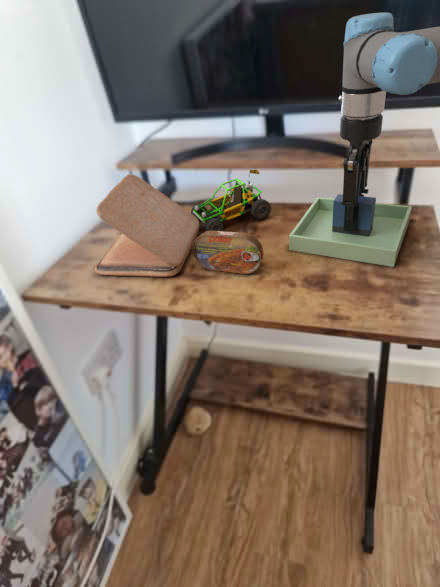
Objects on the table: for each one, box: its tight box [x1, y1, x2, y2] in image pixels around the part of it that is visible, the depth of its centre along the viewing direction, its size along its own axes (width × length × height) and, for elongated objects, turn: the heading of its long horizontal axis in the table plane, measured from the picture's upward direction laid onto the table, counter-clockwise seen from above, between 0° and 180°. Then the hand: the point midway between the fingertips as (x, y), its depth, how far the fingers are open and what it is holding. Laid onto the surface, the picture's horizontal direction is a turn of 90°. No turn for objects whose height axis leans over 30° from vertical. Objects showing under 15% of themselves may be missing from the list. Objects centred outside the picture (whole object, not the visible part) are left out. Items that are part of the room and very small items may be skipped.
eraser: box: [332, 193, 377, 237], centre depth 87 cm, size 8×4×8 cm, turn 62°
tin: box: [191, 230, 265, 275], centre depth 82 cm, size 15×3×8 cm, turn 68°
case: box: [94, 174, 201, 278], centre depth 89 cm, size 20×21×16 cm
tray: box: [288, 196, 413, 268], centre depth 88 cm, size 21×19×4 cm
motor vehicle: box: [190, 169, 272, 232], centre depth 100 cm, size 12×19×11 cm, turn 115°
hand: (352, 226), depth 89 cm, fingers closed on eraser, 3 cm apart
